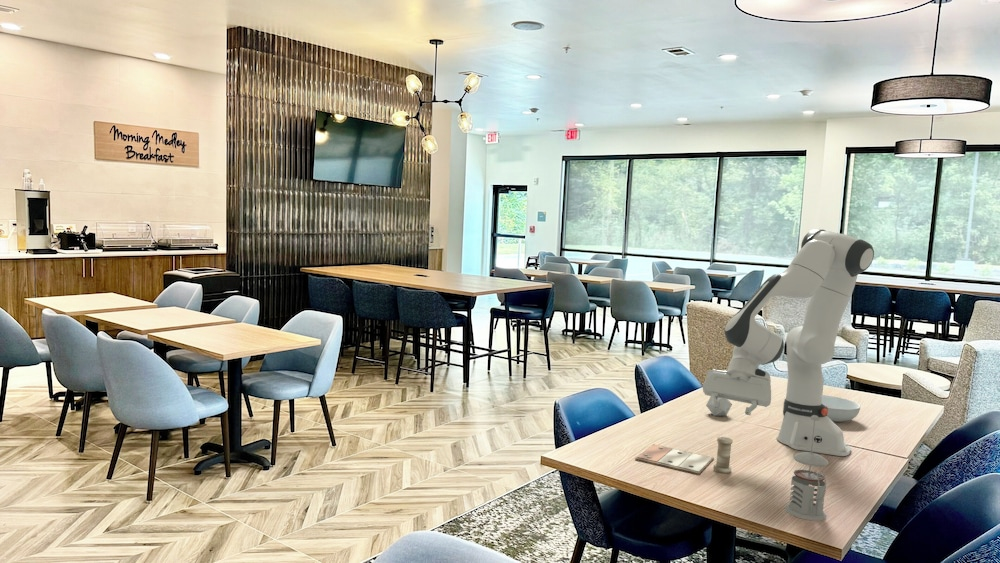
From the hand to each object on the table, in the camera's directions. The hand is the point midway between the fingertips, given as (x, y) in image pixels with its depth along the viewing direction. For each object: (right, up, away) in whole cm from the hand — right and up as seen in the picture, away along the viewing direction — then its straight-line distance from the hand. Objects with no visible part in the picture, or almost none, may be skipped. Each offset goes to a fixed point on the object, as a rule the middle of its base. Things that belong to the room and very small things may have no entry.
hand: (731, 410), depth 210 cm
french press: (+6, -19, -38) cm, 43 cm away
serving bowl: (+57, -14, +57) cm, 81 cm away
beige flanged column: (-6, -16, -10) cm, 19 cm away
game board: (-18, -14, -3) cm, 23 cm away
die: (+13, -12, +53) cm, 55 cm away
